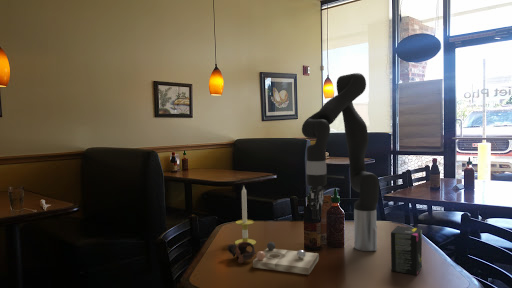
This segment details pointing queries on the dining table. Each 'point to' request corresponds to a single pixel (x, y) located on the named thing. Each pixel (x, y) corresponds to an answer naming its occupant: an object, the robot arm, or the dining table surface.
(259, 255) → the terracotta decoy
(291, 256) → the board
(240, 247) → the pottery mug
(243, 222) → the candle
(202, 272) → the dining table surface
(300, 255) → the steel ball
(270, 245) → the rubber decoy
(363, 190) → the robot arm
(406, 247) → the tampon box
